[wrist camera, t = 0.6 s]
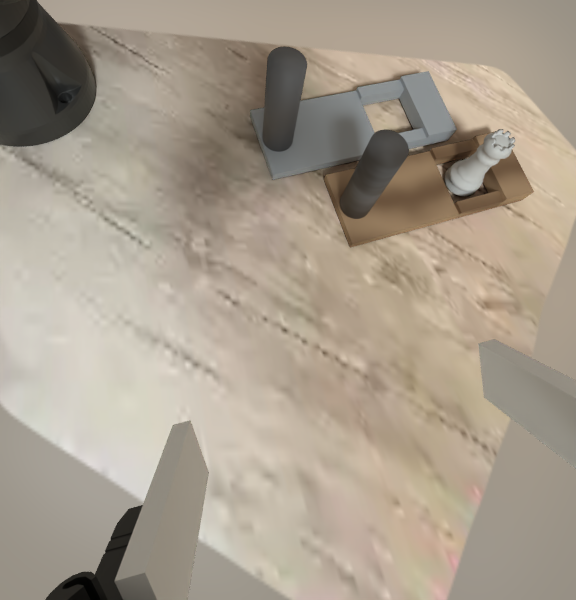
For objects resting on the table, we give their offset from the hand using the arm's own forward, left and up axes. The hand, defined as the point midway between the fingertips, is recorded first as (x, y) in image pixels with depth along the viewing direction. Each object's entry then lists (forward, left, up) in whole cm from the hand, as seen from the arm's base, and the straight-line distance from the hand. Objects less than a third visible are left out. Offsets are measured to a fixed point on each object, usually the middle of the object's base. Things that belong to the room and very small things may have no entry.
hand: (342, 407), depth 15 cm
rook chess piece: (-18, +29, -21) cm, 40 cm away
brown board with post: (-18, +24, -21) cm, 36 cm away
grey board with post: (-28, +18, -21) cm, 39 cm away
